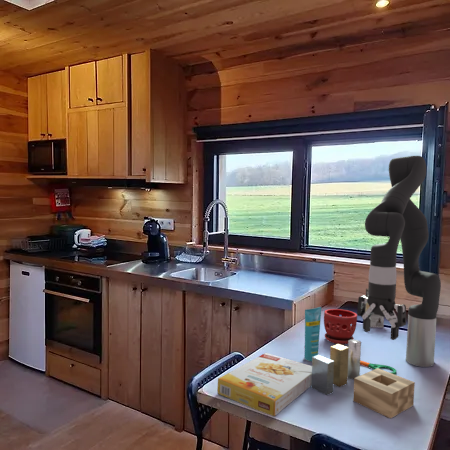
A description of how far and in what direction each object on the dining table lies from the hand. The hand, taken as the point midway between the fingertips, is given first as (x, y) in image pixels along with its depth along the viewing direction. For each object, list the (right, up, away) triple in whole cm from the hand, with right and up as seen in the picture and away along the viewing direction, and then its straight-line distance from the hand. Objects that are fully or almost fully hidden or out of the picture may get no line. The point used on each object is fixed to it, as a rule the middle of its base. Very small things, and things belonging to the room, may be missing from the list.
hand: (379, 335), depth 125 cm
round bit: (-3, -18, +17) cm, 25 cm away
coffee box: (+24, -14, +73) cm, 78 cm away
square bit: (-9, -19, +13) cm, 24 cm away
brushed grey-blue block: (-15, -19, +8) cm, 26 cm away
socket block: (+1, -20, 0) cm, 20 cm away
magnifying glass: (+7, -19, +25) cm, 32 cm away
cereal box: (-32, -19, +9) cm, 38 cm away
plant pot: (+2, -16, +51) cm, 54 cm away
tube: (-14, -17, +32) cm, 38 cm away
